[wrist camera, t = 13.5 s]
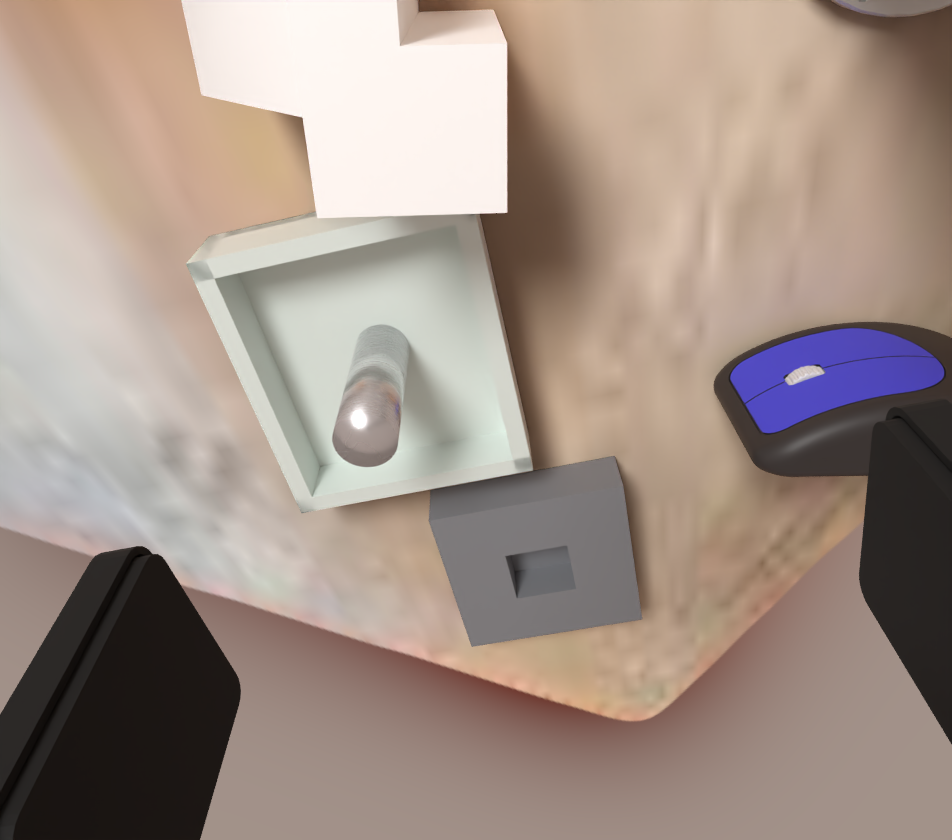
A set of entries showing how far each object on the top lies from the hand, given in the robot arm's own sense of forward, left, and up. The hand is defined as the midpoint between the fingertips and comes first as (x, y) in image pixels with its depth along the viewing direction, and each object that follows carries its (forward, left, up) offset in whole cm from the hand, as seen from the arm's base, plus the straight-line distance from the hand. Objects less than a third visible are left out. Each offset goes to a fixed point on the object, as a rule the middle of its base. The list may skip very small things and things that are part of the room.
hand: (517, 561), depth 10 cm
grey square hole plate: (+2, +28, -30) cm, 41 cm away
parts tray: (+8, +11, -30) cm, 33 cm away
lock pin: (+8, +11, -30) cm, 32 cm away
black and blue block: (-18, +19, -31) cm, 40 cm away
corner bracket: (+4, -5, -31) cm, 31 cm away
